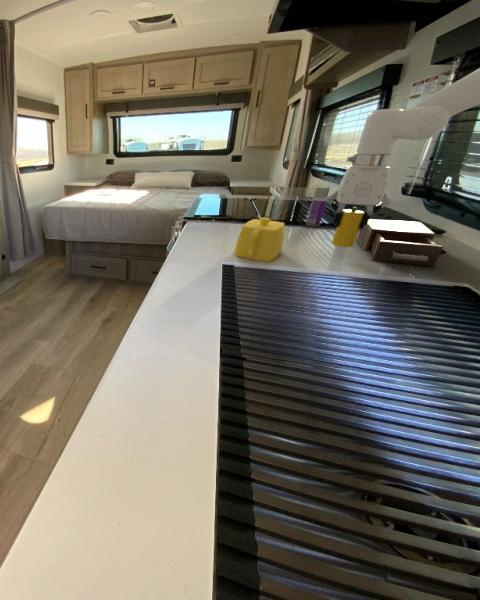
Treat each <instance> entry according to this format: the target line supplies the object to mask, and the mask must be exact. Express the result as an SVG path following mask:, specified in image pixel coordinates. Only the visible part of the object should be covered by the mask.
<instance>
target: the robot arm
mask: <svg viewBox="0 0 480 600" xmlns="http://www.w3.org/2000/svg"><path fill="white" fill-rule="evenodd" d="M479 105H480V68H478V69H476V70H474V71H473V72H471V73H469V74H467V75H465V76H464V77H462V78H460V79H458V80H456V81H454V82H452V83H451V84H448V85H447V86H445V87H443V88H441V89H440V90H438V91H436V92H434V93H433V94H431V95H429V96H427V97H426V98H424V99H422V100H421V101H419V102H417V103H415V104H414V105H413V106H411V107H409V108H407V109H403V108H384V109H383V108H382V109H375V110H372V111H370V112H369V114H368V115H367V117H366V119H365V122H364V126H363V129H362V132H361V136H360V139H359V142H358V145H357V148H356V150H355V153H354V155H351V156H349V155H348V157H347V159H346V162H347V163H351V165H348V167H347V169H346V171H345V172H344V174H343V177H342V179H341V181H340V184H339V186H338V189H337V190H335V191H334V192H333V193H331V194H329V195H328V197H327V198H326V204H328V205H329V206H330V207H331V208H332V209H333V210H334V211H335V213H334V216H333V219H332V224H334V227H336V228H337V227H338V226H339V223H340V220H341V217H342V210H344V208H346V206H347V205H359V206H365V211H364V212H365V213H364V216H363V218H362V221H361V224H360V227H359V229H360V230H361V229H363V227H364V225H365V226H366V225H367V223H368V220H369V219H370V218H371V216H372V215H373V214H374V213H376V212H378V211H380V210H381V209H383V208H385V207H387V206H389V205H391V203H392V202H391V200H390V199H389V197H388V196H387V194H386V193H385V192H386V190H387V187H388V186H387V185H388V183H389V182H388V181H389V178H390V172H391V166H388V164H389V161H390V158H391V156H392V153H393V150H394V147H395V144H396V141H397V140H400V139H401V140H411V141H424V140H428V139H431V138H433V137H435V136H437V135H439V134H440V133H441V132H443V131H444V129H445V128H446V127H447V126H448V124H449V122H450V121H449V120H450V118H451V117H454V116H456V115H458V114H459V113H462V112H463V111H466V110H469V109H472V108H474V107H477V106H479ZM334 199H335V200H336V202H338V204H337V203H336V202H335V201H334Z"/></svg>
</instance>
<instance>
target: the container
mask: <svg viewBox="0 0 480 600" xmlns="http://www.w3.org/2000/svg"><path fill="white" fill-rule="evenodd" d="M330 189H331V187H330V186H325V185H324V186H322V185H320V186H316V187H315V189H314V190H315V191H314V193H313V197H312V200H311V204H310V208H309V212H308V215H307V219H306V222H305V225H306V226H309V227H319V226H320V224H321V220H322V217H323V214H324V210H325V207H326V204H327V202H326V198H327V197H329V193H330Z"/></svg>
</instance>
